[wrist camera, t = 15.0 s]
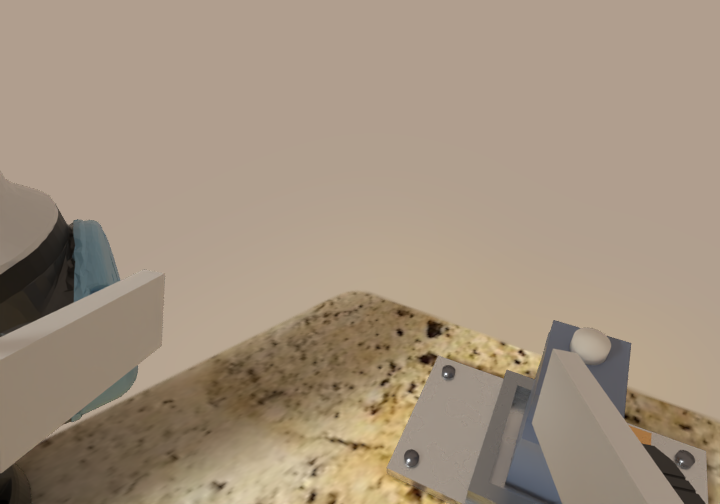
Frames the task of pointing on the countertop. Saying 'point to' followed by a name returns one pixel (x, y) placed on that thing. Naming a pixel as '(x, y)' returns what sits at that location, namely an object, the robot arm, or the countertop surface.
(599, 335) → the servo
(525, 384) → the chassis
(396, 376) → the countertop surface
